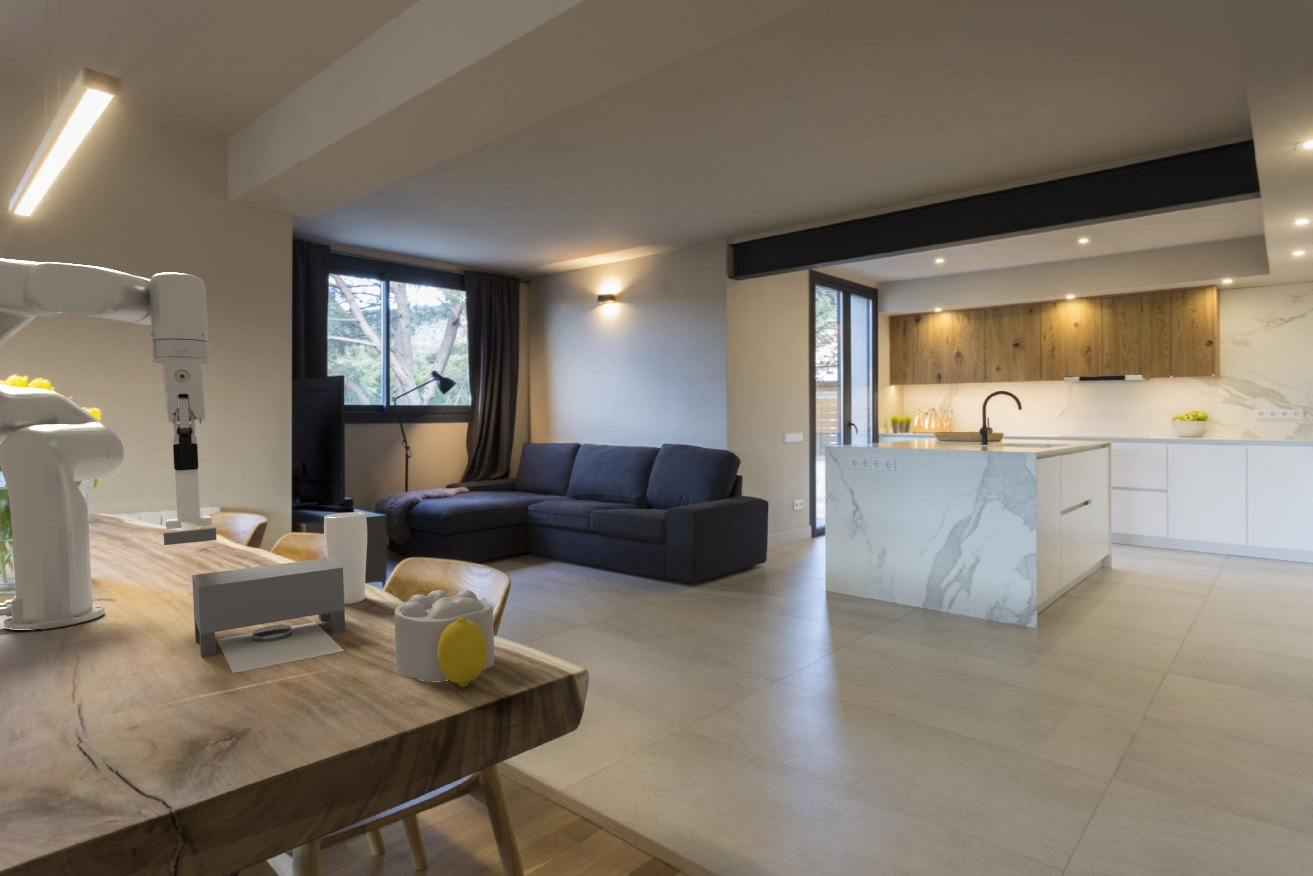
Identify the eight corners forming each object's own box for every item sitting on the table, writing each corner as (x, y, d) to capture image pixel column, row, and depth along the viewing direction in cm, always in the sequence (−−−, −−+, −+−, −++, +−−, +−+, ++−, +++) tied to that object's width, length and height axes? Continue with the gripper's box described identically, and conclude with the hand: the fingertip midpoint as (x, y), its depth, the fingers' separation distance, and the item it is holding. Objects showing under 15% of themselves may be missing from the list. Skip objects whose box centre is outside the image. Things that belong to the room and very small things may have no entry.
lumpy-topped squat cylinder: (431, 687, 84) (428, 612, 84) (377, 663, 93) (374, 596, 93) (505, 663, 92) (503, 594, 92) (449, 643, 101) (447, 581, 100)
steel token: (254, 644, 102) (254, 637, 102) (250, 636, 106) (250, 629, 106) (294, 637, 105) (294, 630, 105) (288, 629, 109) (288, 622, 109)
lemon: (492, 677, 87) (490, 610, 86) (482, 695, 81) (480, 623, 81) (445, 679, 86) (442, 612, 86) (432, 697, 81) (430, 625, 81)
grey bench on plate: (201, 658, 97) (198, 587, 96) (195, 641, 105) (192, 575, 105) (345, 631, 107) (342, 567, 107) (329, 617, 115) (327, 557, 115)
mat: (232, 674, 90) (232, 672, 90) (217, 640, 105) (216, 639, 105) (344, 652, 98) (344, 650, 98) (315, 623, 112) (315, 622, 112)
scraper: (164, 545, 98) (159, 438, 97) (166, 526, 117) (162, 437, 116) (216, 540, 101) (211, 437, 101) (210, 522, 120) (206, 436, 119)
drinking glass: (326, 600, 127) (323, 514, 127) (368, 595, 130) (365, 511, 130) (327, 608, 121) (323, 518, 121) (371, 603, 124) (367, 515, 124)
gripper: (210, 349, 111) (216, 470, 112) (207, 358, 125) (212, 465, 125) (150, 347, 107) (156, 473, 107) (153, 357, 121) (159, 468, 121)
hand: (186, 468), depth 116 cm, fingers closed on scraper, 3 cm apart
